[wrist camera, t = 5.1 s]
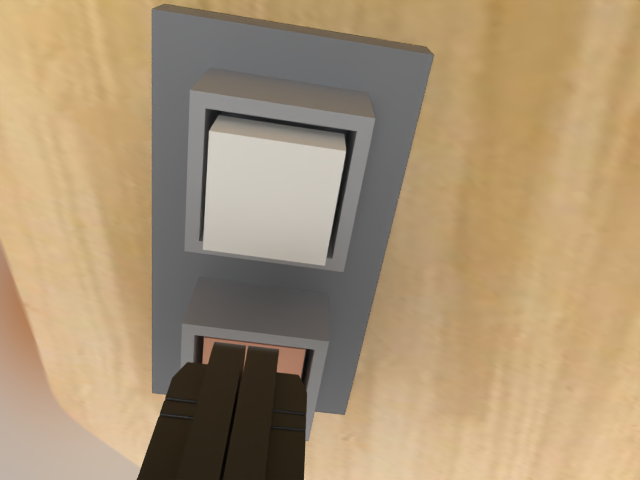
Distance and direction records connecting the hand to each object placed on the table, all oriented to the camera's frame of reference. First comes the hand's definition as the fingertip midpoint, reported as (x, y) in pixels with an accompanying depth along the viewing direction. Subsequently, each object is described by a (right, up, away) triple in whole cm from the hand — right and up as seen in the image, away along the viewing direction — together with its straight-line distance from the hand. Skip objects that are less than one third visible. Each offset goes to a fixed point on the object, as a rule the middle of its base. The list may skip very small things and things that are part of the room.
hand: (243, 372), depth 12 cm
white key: (0, +6, +10) cm, 11 cm away
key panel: (-1, +3, +17) cm, 17 cm away
